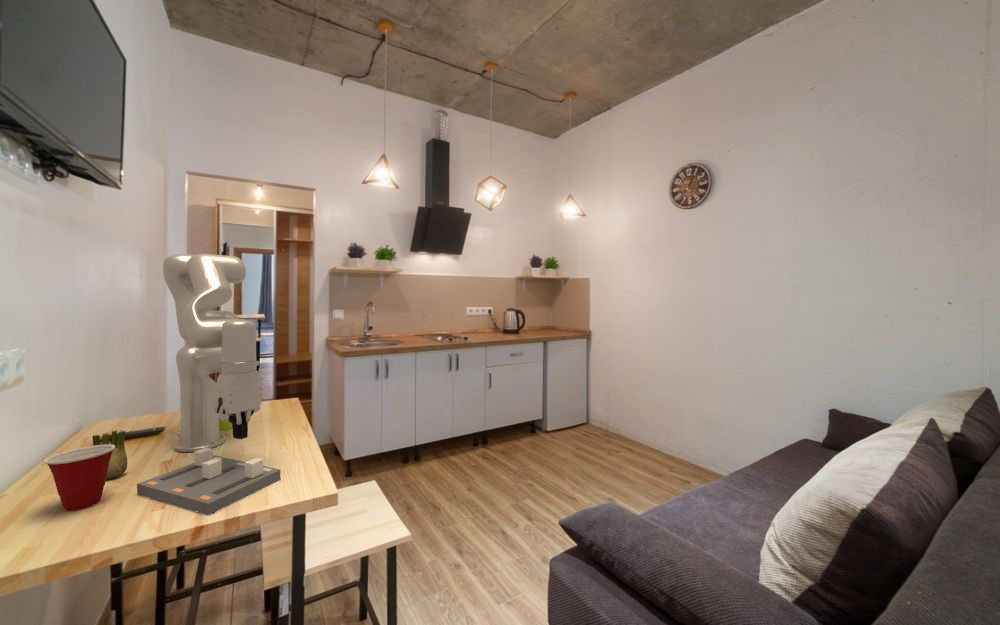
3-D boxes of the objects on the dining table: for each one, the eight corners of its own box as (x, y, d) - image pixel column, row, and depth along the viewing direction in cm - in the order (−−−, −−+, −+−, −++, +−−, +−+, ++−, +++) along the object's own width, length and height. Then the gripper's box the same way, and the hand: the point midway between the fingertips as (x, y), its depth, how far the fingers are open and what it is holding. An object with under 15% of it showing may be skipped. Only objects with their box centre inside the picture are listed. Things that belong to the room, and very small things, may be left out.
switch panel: (137, 494, 92) (136, 483, 92) (214, 464, 109) (214, 454, 109) (208, 515, 84) (208, 503, 84) (280, 479, 101) (280, 469, 101)
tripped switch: (202, 477, 95) (202, 463, 95) (214, 472, 98) (214, 458, 98) (209, 479, 95) (209, 464, 95) (221, 473, 98) (221, 460, 97)
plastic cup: (101, 488, 94) (100, 439, 94) (126, 498, 90) (125, 446, 90) (34, 510, 84) (33, 455, 84) (59, 522, 80) (58, 464, 80)
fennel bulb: (89, 482, 97) (89, 434, 97) (105, 473, 102) (104, 428, 101) (117, 480, 98) (116, 433, 98) (131, 472, 103) (130, 427, 103)
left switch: (194, 464, 102) (194, 451, 102) (206, 460, 105) (206, 447, 105) (200, 466, 101) (200, 453, 101) (212, 461, 104) (212, 448, 104)
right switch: (244, 476, 96) (244, 462, 96) (255, 471, 99) (256, 458, 99) (251, 478, 96) (251, 464, 95) (263, 473, 98) (263, 459, 98)
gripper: (255, 363, 110) (255, 428, 111) (199, 371, 96) (200, 446, 97) (275, 364, 108) (276, 430, 108) (220, 373, 94) (222, 449, 94)
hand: (240, 437), depth 102 cm, fingers closed
